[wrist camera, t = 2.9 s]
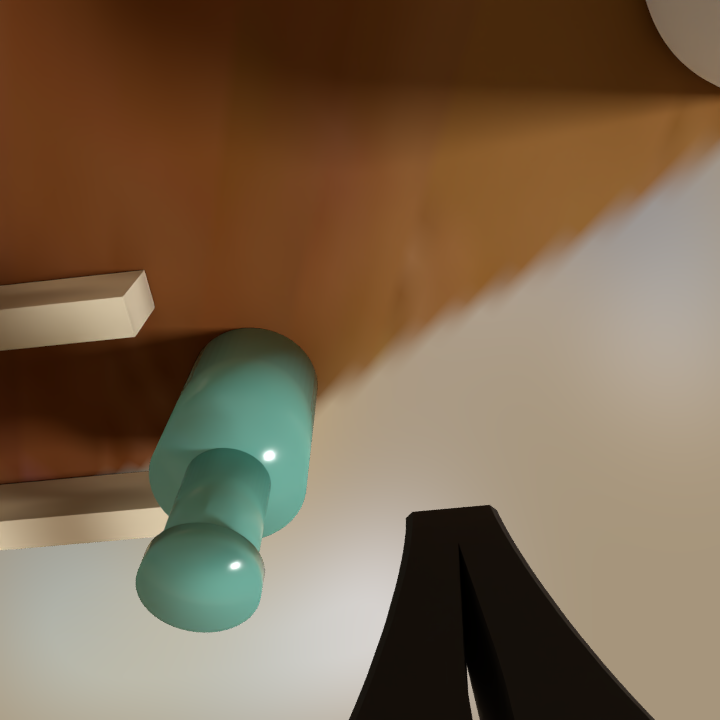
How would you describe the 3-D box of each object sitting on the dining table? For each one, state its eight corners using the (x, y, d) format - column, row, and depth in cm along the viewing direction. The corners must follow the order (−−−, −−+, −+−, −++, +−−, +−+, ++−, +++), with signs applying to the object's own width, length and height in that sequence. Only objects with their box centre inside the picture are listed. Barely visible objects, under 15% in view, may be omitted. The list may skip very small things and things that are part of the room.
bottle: (207, 440, 22) (131, 660, 15) (179, 334, 21) (75, 525, 13) (325, 429, 22) (307, 646, 15) (307, 321, 20) (276, 507, 13)
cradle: (-70, 518, 24) (-104, 559, 22) (-186, 305, 20) (-239, 335, 18) (207, 493, 23) (195, 533, 22) (144, 270, 20) (123, 296, 18)
